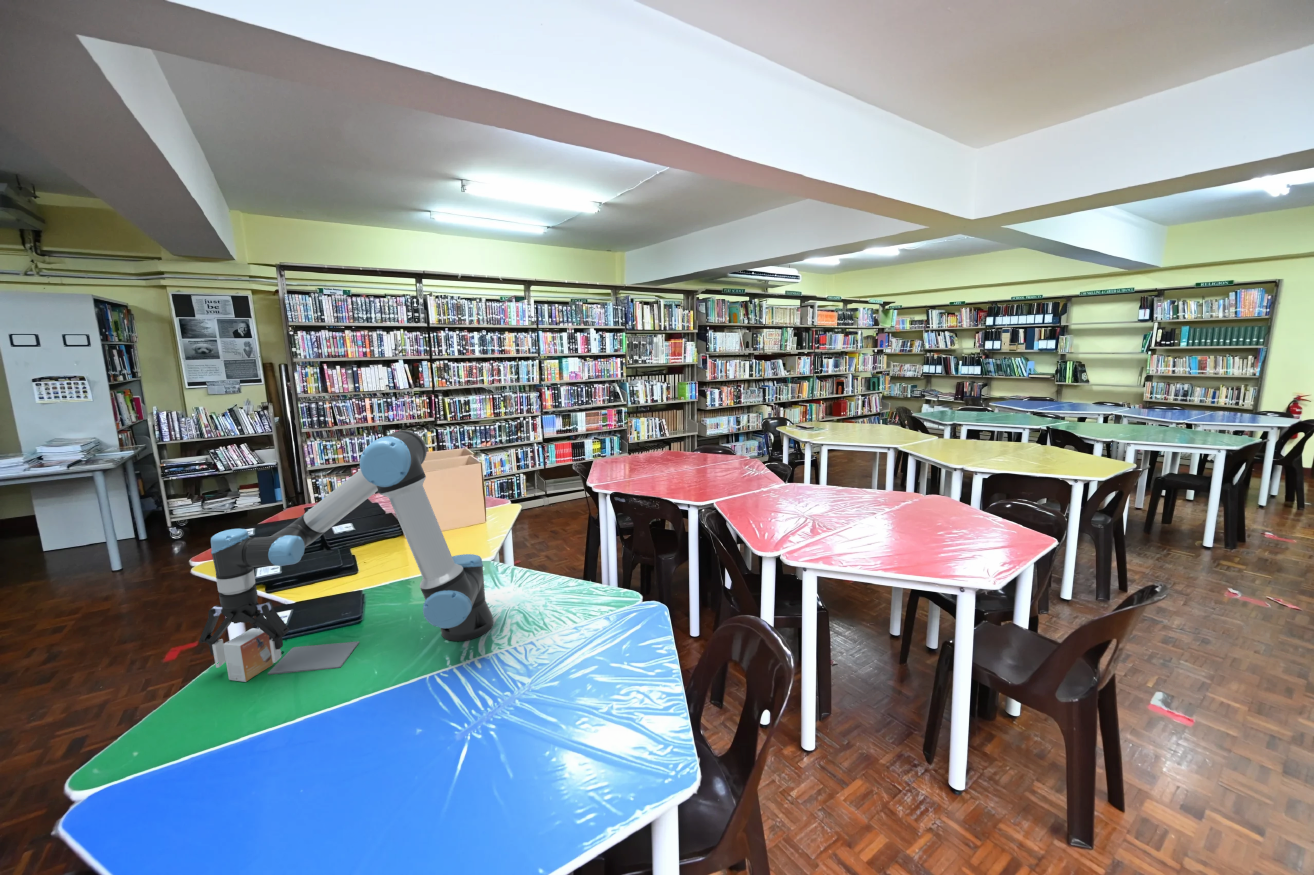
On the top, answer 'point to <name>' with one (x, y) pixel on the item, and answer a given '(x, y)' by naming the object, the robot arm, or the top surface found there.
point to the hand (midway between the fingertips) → (249, 662)
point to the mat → (314, 657)
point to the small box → (247, 655)
